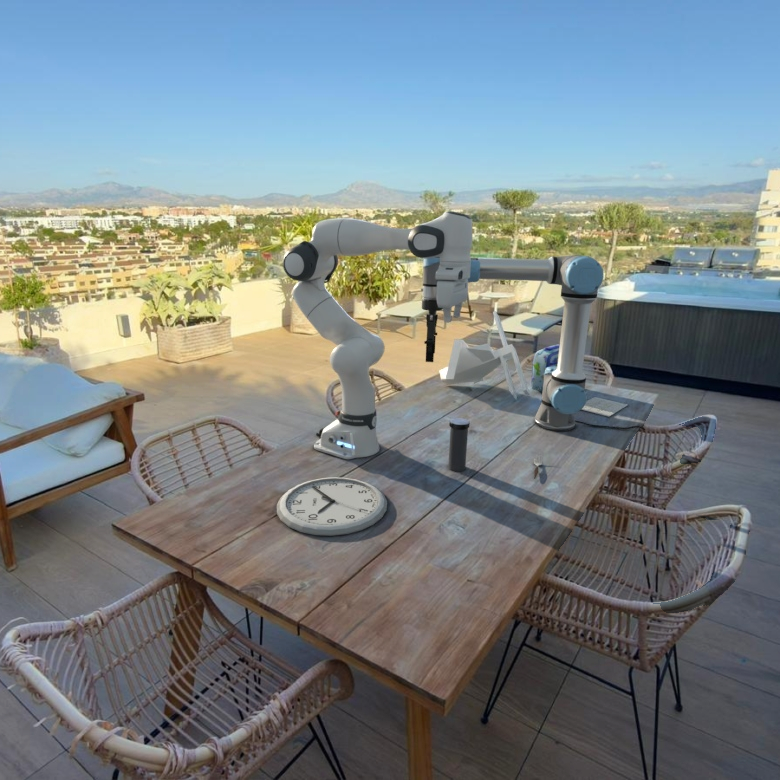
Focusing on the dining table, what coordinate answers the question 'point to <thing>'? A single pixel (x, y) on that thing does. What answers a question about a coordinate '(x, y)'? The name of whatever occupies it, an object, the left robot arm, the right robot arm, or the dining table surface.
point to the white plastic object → (482, 362)
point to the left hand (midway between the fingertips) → (452, 319)
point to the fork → (537, 465)
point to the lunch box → (543, 365)
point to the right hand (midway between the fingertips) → (430, 357)
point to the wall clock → (331, 506)
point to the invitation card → (603, 406)
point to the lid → (459, 423)
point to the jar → (457, 449)
